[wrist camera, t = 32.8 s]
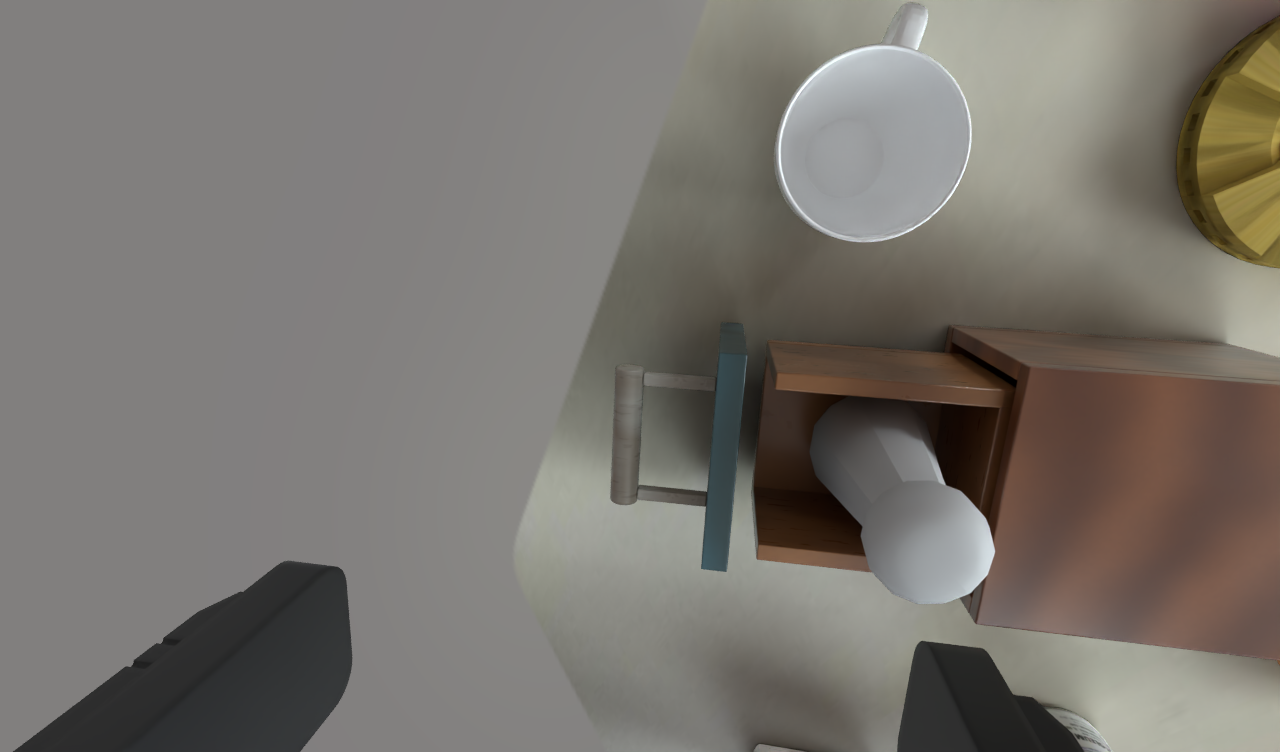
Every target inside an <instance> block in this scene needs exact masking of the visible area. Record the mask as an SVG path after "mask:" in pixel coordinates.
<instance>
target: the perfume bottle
mask: <svg viewBox="0 0 1280 752" xmlns="http://www.w3.org/2000/svg"><path fill="white" fill-rule="evenodd" d="M754 752H805V751H799V750H793V749H788V748H782V747H776V746H770V745H764V744H758V745H757V746H756V748H755V750H754Z"/></svg>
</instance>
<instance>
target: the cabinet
mask: <svg viewBox="0 0 1280 752" xmlns="http://www.w3.org/2000/svg"><path fill="white" fill-rule="evenodd" d="M944 353H955V354H962V355H963V356H965V357H967V358H969V359H970V360H972V361H974V362H975V363H977V364H978V365H980V366H982V367H983V368H985V369H986V370H988V371H990V372H991V373H993V374H995V375H996V376H998V377H999V378H1001V379H1003V380H1004V381H1006V382H1008V383H1009V384H1011V385H1012V386H1014V387H1016V391H1015V396H1014V401H1013V406H1012V410H1011V415H1010V420H1009V425H1008V430H1007V435H1006V439H1005V444H1004V449H1003V454H1002V459H1001V463H1000V468H999V473H998V478H997V483H996V488H995V492H994V497H993V502H992V507H991V512H990V516H989V521H988V525H989V528H990V532H991V536H992V540H993V544H994V548H995V554H994V557H993V560H992V563H991V566H990V569H989V573H988V575H987V576H986V577H985V578H984V579H983V580H982V581H981V582H980V584H979V585H978V586H977V587H976V588H975V589H974V590H973V591H972V592H971V593H970V594H968V595H965V596H962V597H960V599H961V601H962V602H963V604H964V606H965V608H966V609H967V611H968V613H970V615H971V617H972V619H973V620H974V622H975V623H976V624H980V625H988V626H997V627H1005V628H1014V629H1022V630H1030V631H1039V632H1047V633H1055V634H1064V635H1072V636H1080V637H1089V638H1097V639H1105V640H1114V641H1122V642H1130V643H1139V644H1147V645H1155V646H1164V647H1172V648H1180V649H1189V650H1197V651H1205V652H1214V653H1222V654H1230V655H1239V656H1247V657H1255V658H1264V659H1272V660H1280V358H1279V357H1275V356H1272V355H1268V354H1264V353H1261V352H1257V351H1253V350H1249V349H1246V348H1242V347H1237V346H1234V345H1230V344H1223V343H1208V342H1194V341H1179V340H1165V339H1150V338H1136V337H1121V336H1107V335H1092V334H1078V333H1063V332H1049V331H1034V330H1020V329H1005V328H991V327H976V326H962V325H949V328H948V333H947V339H946V345H945V350H944Z"/></svg>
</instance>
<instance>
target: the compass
mask: <svg viewBox="0 0 1280 752" xmlns="http://www.w3.org/2000/svg"><path fill="white" fill-rule="evenodd" d="M1176 168H1177V181H1178V186H1179V190H1180V195H1181V198H1182V201H1183V203H1184V206H1185V208H1186V211H1187V212H1188V214H1189V216H1190V218H1191V219H1192V221H1193V223H1194V224H1195V225H1196V227H1197V228H1198V229H1199V230H1200V232H1201V233H1202V234H1203V235H1204V236H1205V237H1206V238H1207V239H1208V240H1209V241H1211V242H1212V243H1213V244H1214V245H1215V246H1217V247H1218V248H1220V249H1221V250H1223V251H1224V252H1226V253H1228V254H1230V255H1232V256H1234V257H1236V258H1238V259H1240V260H1244V261H1247V262H1250V263H1253V264H1256V265H1262V266H1267V267H1274V268H1280V15H1279V16H1277V17H1276V18H1274V19H1272V20H1271V21H1269V22H1267V23H1266V24H1264V25H1262V26H1260V27H1259V28H1258V29H1256V30H1255V31H1254V32H1252V33H1251V34H1249V35H1248V36H1247V37H1245V38H1244V39H1243V40H1242V41H1241V42H1239V43H1238V44H1237V45H1236V46H1235V47H1234V48H1233V49H1232V50H1230V51H1229V52H1228V53H1227V54H1226V56H1225V57H1224V58H1223V59H1222V60H1221V61H1220V62H1219V63H1218V64H1217V65H1216V66H1215V68H1214V69H1213V70H1212V72H1211V73H1210V74H1209V76H1208V77H1207V78H1206V80H1205V81H1204V82H1203V84H1202V86H1201V87H1200V89H1199V91H1198V92H1197V94H1196V96H1195V97H1194V99H1193V101H1192V104H1191V106H1190V108H1189V110H1188V112H1187V114H1186V117H1185V120H1184V123H1183V126H1182V129H1181V133H1180V138H1179V143H1178V148H1177V162H1176Z"/></svg>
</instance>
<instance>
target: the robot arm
mask: <svg viewBox="0 0 1280 752" xmlns="http://www.w3.org/2000/svg"><path fill="white" fill-rule="evenodd" d="M348 609H349V608H348V596H347V584H346V578H345V575H344V573H343V571H342V570H341V569H340V568H339V567H334V566H327V565H318V564H311V563H302V562H294V561H285V562H283V563H280V564H279V565H277V566H276V567H275V568H273V569H272V570H271V571H269V572H268V573H267V574H266V575H264V576H263V577H262V578H261V579H259V580H258V581H257V582H255V583H254V584H253V585H252V586H250V587H249V588H248V589H246V590H245V591H244V592H239V593H237V594H234V595H232V596H231V597H228V598H226V599H224V600H222V601H220V602H218V603H216V604H214V605H211V606H209V607H207V608H205V609H203V610H201V611H199V612H197V613H196V614H195V615H193V616H192V617H191V618H189V619H188V620H187V621H185V622H184V623H183V624H181V625H180V626H179V627H177V628H176V629H175V630H174V631H172V632H171V633H170V634H168V635H167V636H165V637H164V638H163V642H162V643H161V644H157V643H156V644H155V645H154V646H152V647H151V648H150V649H148V650H147V651H146V652H144V653H143V654H142V655H140V656H139V657H138V658H136V659H135V660H134V663H133V665H132V666H131V667H124V668H123V669H122V670H121V671H119V672H118V673H117V674H115V675H114V676H113V677H111V678H110V679H109V680H107V681H106V682H105V683H103V684H102V685H101V686H99V687H98V688H97V689H96V690H94V691H93V692H91V693H90V694H89V695H88V696H86V697H85V698H84V699H82V700H81V701H80V702H78V703H77V704H76V705H74V706H73V707H72V708H70V709H69V710H68V711H67V712H65V713H64V714H62V715H61V716H60V717H58V718H57V719H56V720H54V721H53V722H52V723H50V724H49V725H48V726H47V727H45V728H44V729H43V730H41V731H40V732H39V733H37V734H36V735H35V736H33V737H32V738H31V739H29V740H28V741H27V742H25V743H24V744H23V745H22V746H20V747H19V748H17V749H16V750H15V751H13V752H300V751H301V750H302V749H303V747H304V746H305V744H307V742H308V741H309V740H310V739H311V737H312V736H313V735H314V734H315V732H316V731H317V730H318V728H319V727H320V726H321V725H322V723H323V722H324V721H325V720H326V718H327V717H328V716H329V715H330V713H331V712H332V711H333V710H334V708H335V707H336V705H337V704H338V703H339V701H340V699H341V697H342V695H343V693H344V691H345V689H346V686H347V684H348V680H349V677H350V673H351V667H352V648H351V634H350V621H349V610H348ZM897 752H1084V750H1083V749H1082V747H1081V746H1080V744H1079V742H1078V741H1077V739H1076V738H1075V736H1074V735H1073V733H1072V732H1071V731H1069V730H1068V729H1067V728H1066V727H1065V726H1064V725H1063V724H1062V723H1060V722H1059V721H1058V720H1057V719H1056V718H1055V717H1054V716H1053V715H1051V714H1050V713H1049V712H1048V711H1047V710H1046V709H1045V708H1044V707H1043V706H1041V705H1040V704H1039V703H1038V702H1037V701H1036V700H1035V699H1034V698H1032V697H1025V696H1017V695H1013V694H1012V692H1011V691H1010V689H1009V687H1008V686H1007V684H1006V682H1005V680H1004V679H1003V677H1002V675H1001V674H1000V672H999V670H998V669H997V667H996V665H995V663H994V662H993V660H992V658H991V657H990V655H989V654H988V653H987V652H986V651H985V650H984V649H982V648H975V647H967V646H959V645H951V644H943V643H935V642H927V641H921V642H919V643H918V645H917V647H916V649H915V652H914V656H913V661H912V666H911V672H910V677H909V682H908V688H907V693H906V699H905V704H904V709H903V715H902V720H901V725H900V731H899V737H898V749H897Z"/></svg>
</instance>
